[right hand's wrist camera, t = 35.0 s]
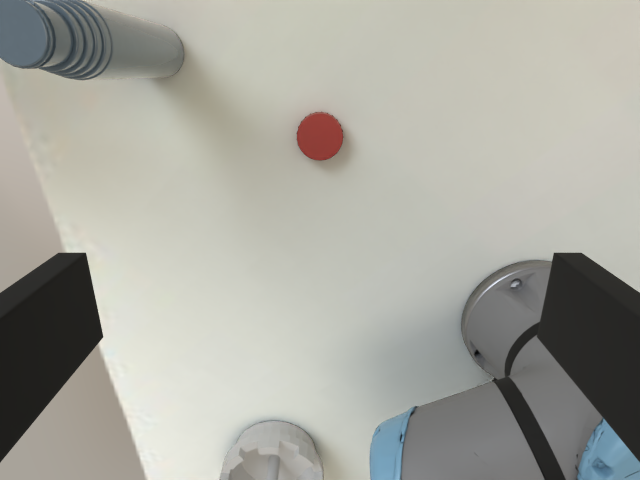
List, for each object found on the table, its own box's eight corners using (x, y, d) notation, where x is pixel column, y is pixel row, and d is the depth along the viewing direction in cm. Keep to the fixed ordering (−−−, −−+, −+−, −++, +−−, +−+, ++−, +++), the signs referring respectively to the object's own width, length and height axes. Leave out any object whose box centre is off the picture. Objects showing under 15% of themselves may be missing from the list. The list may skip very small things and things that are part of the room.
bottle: (155, 87, 43) (14, 99, 23) (124, 42, 42) (-55, 13, 22) (194, 60, 42) (81, 49, 22) (163, 13, 41) (14, -43, 21)
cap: (350, 126, 44) (352, 128, 43) (328, 165, 46) (328, 169, 44) (311, 102, 44) (310, 104, 42) (289, 143, 45) (288, 146, 43)
